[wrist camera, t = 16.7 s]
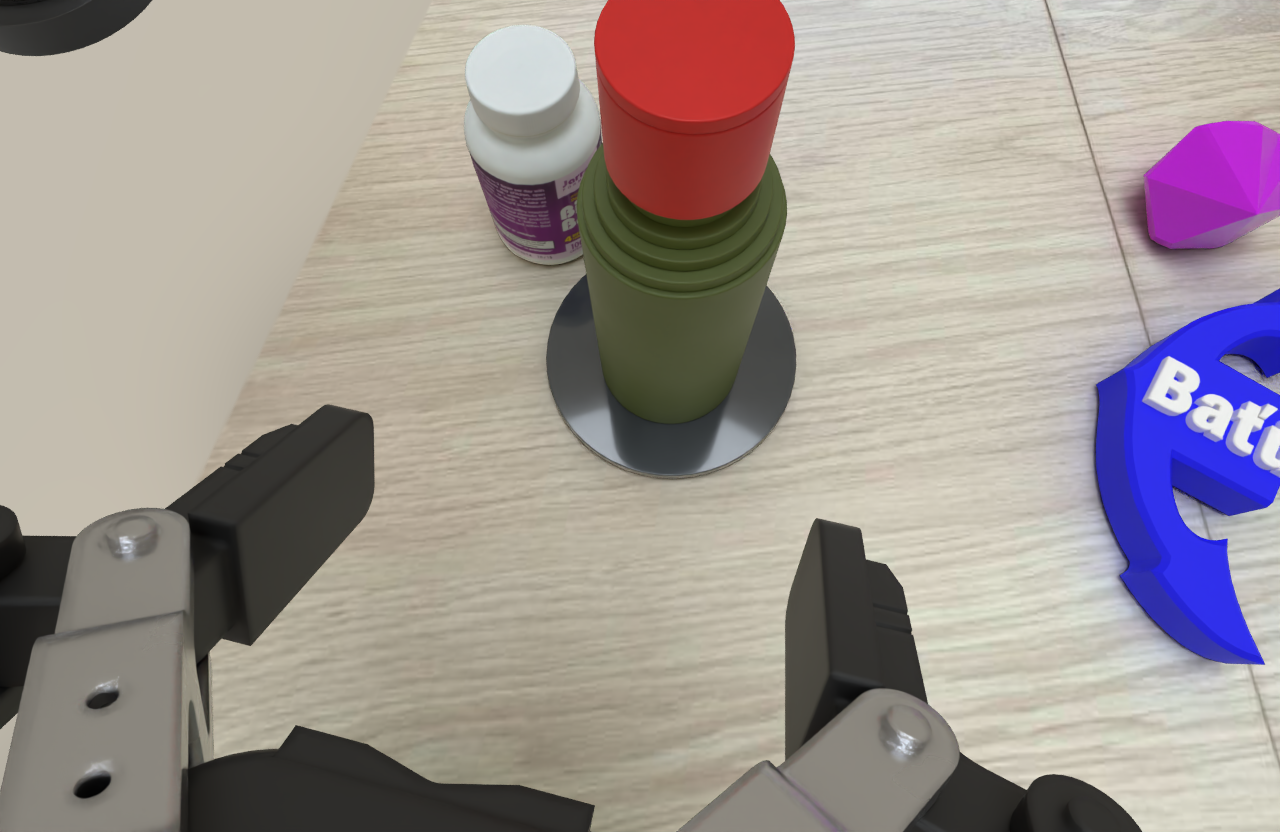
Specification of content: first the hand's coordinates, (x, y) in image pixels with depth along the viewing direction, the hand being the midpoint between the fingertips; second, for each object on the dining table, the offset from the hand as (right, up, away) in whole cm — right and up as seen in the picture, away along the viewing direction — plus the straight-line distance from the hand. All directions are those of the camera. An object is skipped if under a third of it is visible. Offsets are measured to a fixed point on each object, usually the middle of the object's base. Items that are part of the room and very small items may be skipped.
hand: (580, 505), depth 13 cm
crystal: (+27, +11, +22) cm, 37 cm away
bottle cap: (+2, +8, +6) cm, 10 cm away
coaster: (+2, +4, +20) cm, 21 cm away
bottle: (+2, +4, +19) cm, 20 cm away
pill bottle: (-3, +11, +22) cm, 25 cm away
